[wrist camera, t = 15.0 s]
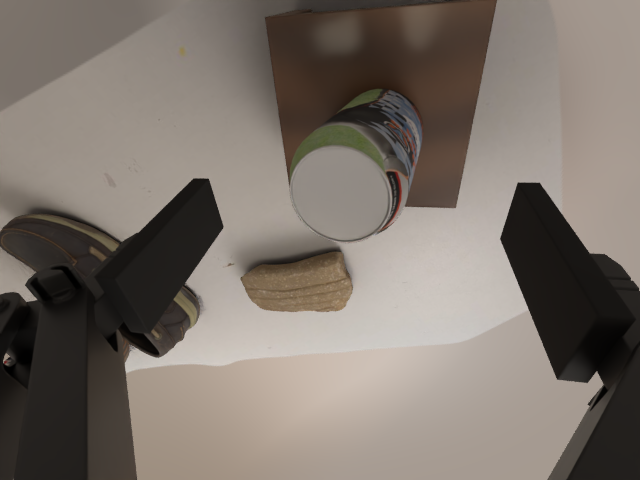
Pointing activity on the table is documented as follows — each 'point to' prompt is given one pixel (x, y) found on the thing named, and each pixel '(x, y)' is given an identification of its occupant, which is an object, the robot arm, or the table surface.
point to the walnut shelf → (387, 76)
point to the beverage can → (357, 167)
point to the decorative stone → (301, 285)
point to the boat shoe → (85, 255)
